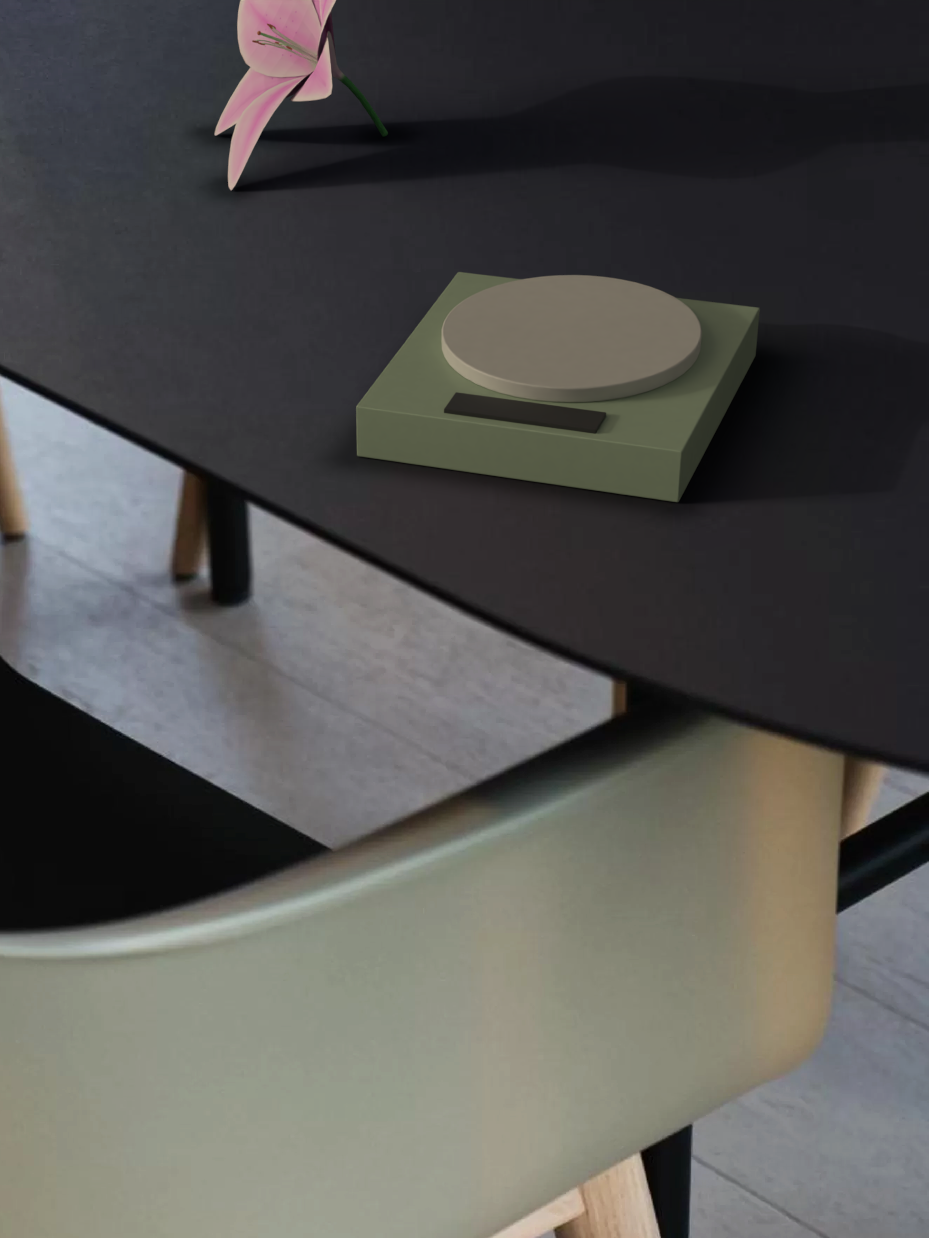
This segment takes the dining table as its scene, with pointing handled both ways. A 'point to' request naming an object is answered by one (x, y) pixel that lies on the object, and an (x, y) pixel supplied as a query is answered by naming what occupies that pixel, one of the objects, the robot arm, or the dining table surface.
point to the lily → (280, 68)
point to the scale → (561, 383)
